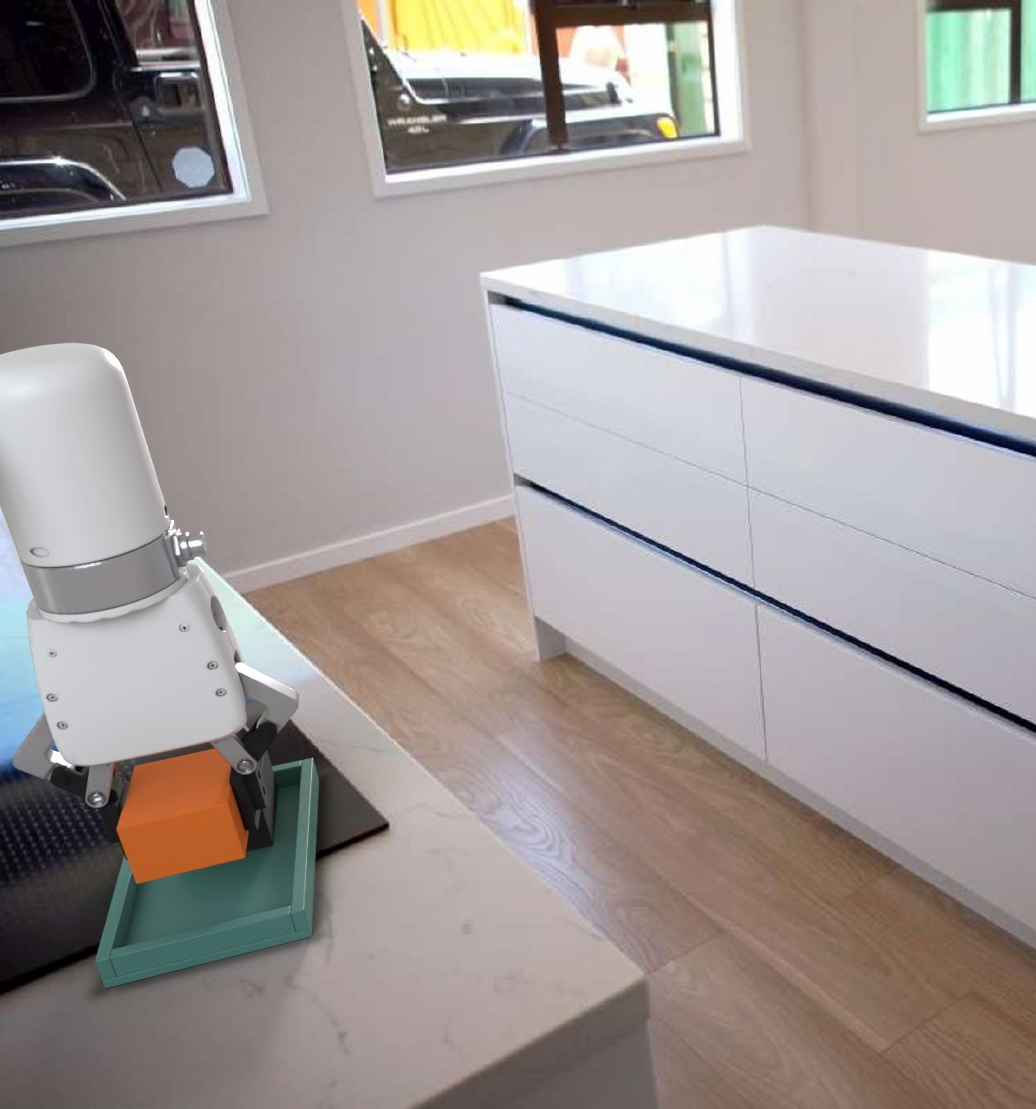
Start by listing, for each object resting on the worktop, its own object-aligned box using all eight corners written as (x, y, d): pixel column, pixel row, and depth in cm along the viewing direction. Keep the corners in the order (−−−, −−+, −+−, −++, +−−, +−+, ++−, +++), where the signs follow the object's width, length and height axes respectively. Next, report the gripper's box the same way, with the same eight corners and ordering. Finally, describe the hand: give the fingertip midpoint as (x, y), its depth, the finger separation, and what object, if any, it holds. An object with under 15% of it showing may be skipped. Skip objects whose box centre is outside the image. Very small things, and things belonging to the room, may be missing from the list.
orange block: (136, 884, 74) (115, 829, 72) (152, 818, 80) (134, 765, 79) (245, 858, 76) (227, 803, 74) (253, 795, 82) (237, 743, 80)
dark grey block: (177, 868, 84) (160, 818, 82) (189, 810, 90) (174, 763, 88) (273, 845, 86) (258, 796, 84) (278, 790, 92) (265, 743, 90)
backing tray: (104, 989, 75) (94, 961, 74) (148, 818, 90) (140, 794, 90) (311, 936, 78) (304, 909, 77) (319, 781, 94) (313, 757, 93)
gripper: (275, 517, 76) (343, 767, 83) (-50, 573, 71) (53, 833, 79) (267, 565, 69) (342, 831, 77) (-91, 630, 65) (26, 907, 72)
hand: (195, 830), depth 78 cm, fingers closed on orange block, 6 cm apart
